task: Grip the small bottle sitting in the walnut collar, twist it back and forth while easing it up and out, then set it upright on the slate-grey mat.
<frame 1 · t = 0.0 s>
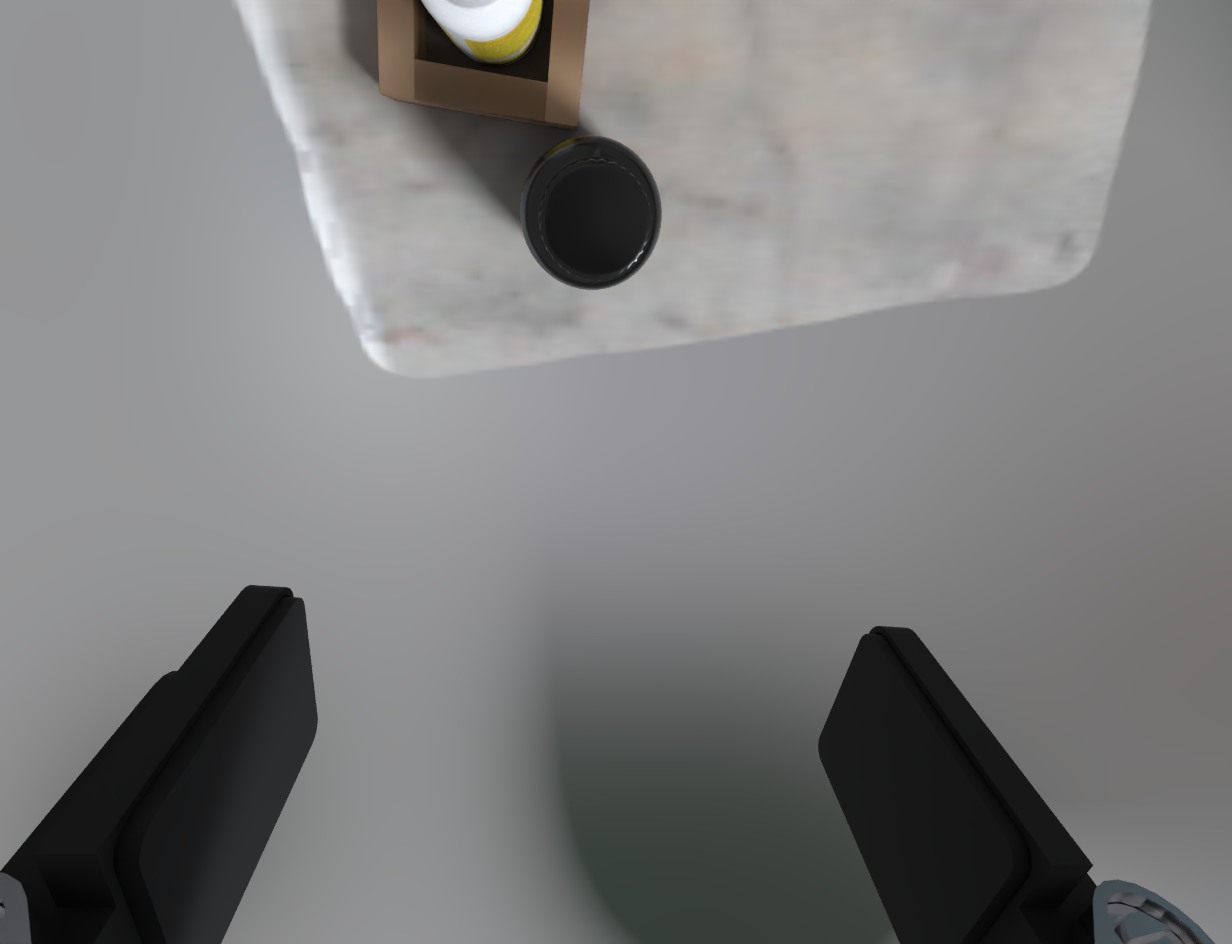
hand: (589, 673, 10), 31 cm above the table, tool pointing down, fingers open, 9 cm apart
supplement bottle: (586, 208, 35), on the table
walnut collar: (492, 5, 31), on the table
supplement bottle 2: (492, 6, 31), resting in walnut collar
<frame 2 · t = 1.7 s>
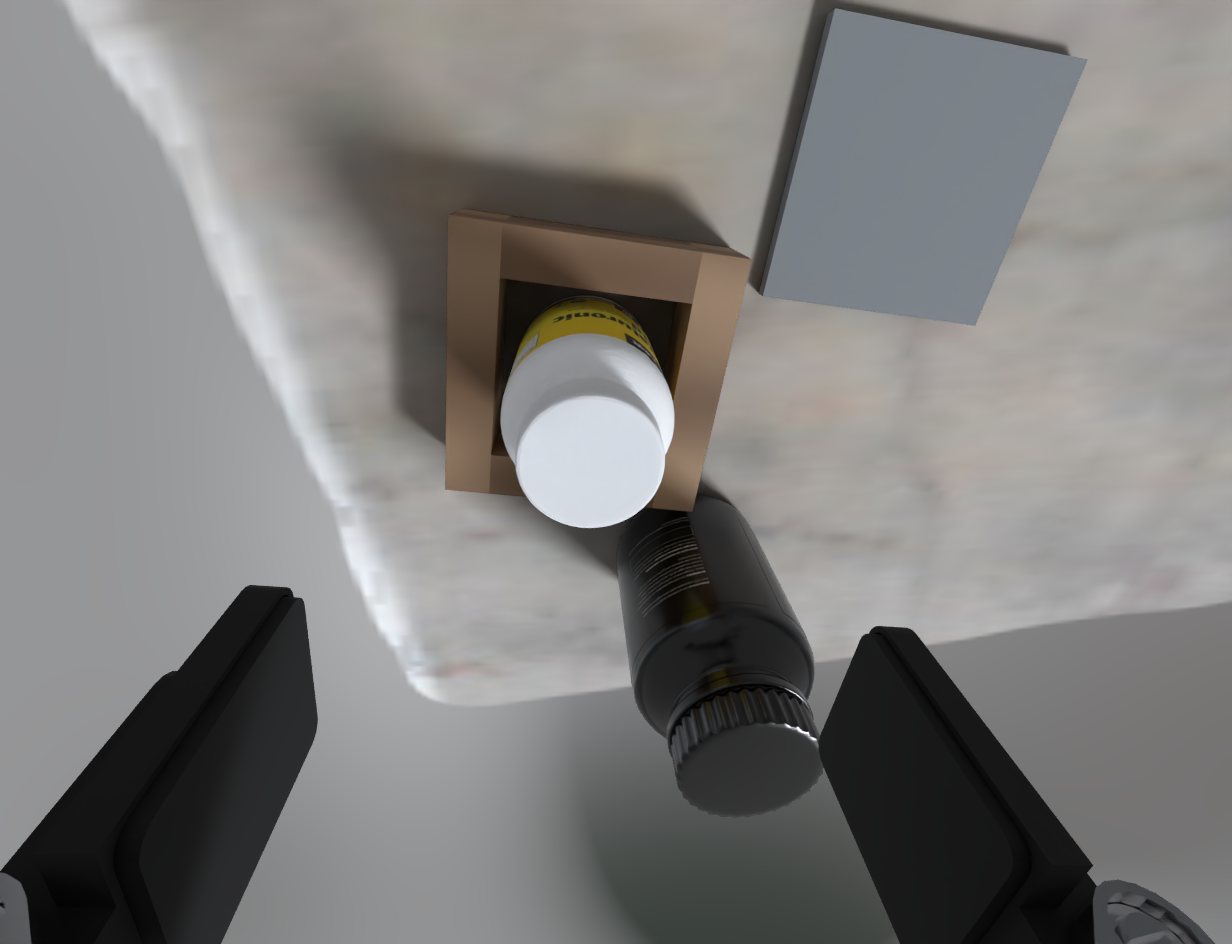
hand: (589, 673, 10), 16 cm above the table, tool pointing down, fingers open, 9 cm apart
supplement bottle: (684, 546, 29), on the table
walnut collar: (585, 359, 24), on the table
slate mat: (905, 185, 22), on the table
supplement bottle 2: (585, 357, 24), resting in walnut collar
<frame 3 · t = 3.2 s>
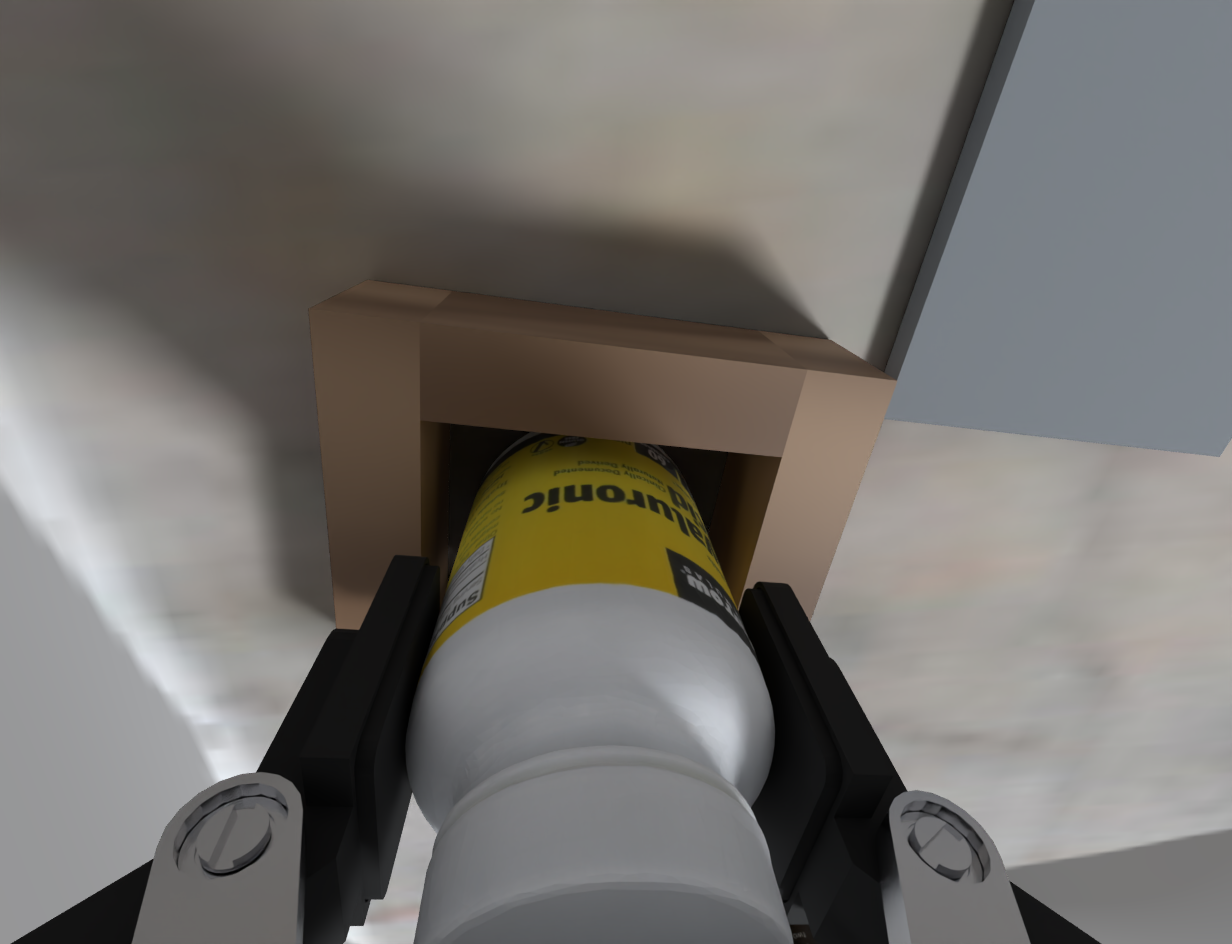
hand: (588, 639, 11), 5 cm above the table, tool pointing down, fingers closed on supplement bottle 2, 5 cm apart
supplement bottle: (731, 755, 19), on the table
walnut collar: (583, 512, 15), on the table
slate mat: (1135, 236, 13), on the table
supplement bottle 2: (583, 508, 15), resting in walnut collar, touching gripper
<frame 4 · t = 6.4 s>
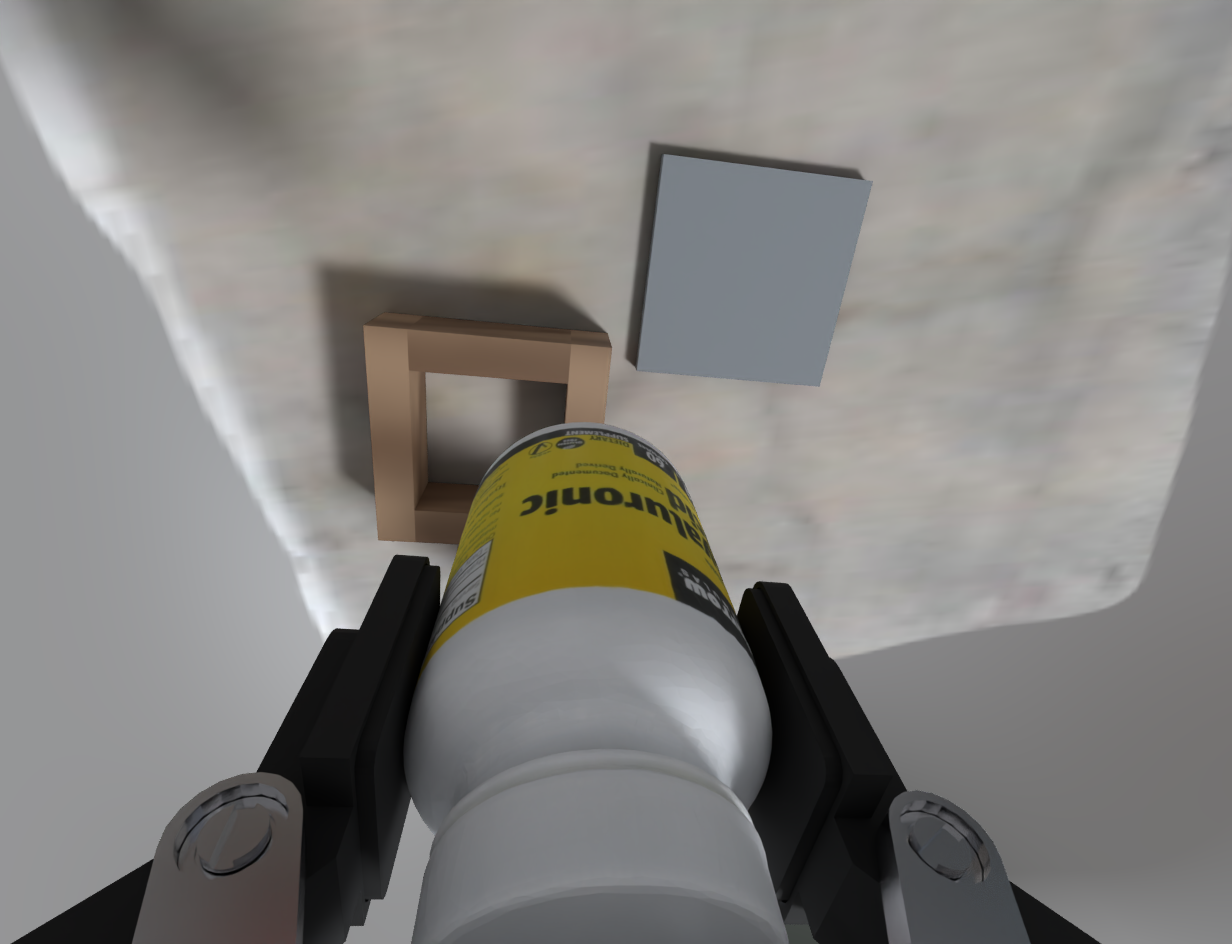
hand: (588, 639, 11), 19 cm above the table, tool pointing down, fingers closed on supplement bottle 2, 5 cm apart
walnut collar: (495, 425, 29), on the table
slate mat: (745, 279, 27), on the table
supplement bottle 2: (581, 510, 15), point 14 cm above the table, touching gripper
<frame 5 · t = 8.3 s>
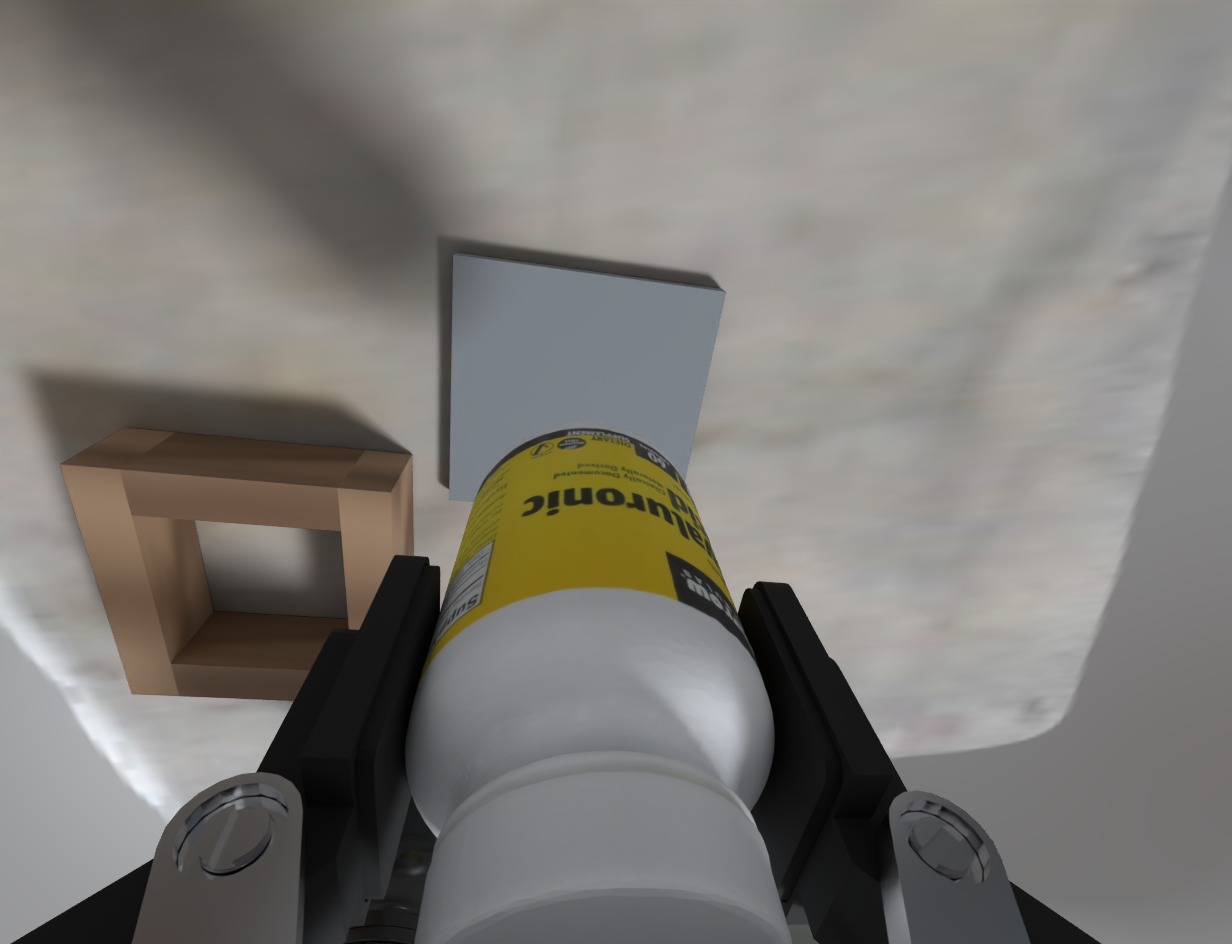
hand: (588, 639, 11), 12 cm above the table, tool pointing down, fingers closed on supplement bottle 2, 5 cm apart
supplement bottle: (438, 710, 29), on the table
walnut collar: (287, 553, 24), on the table
slate mat: (578, 397, 22), on the table
supplement bottle 2: (583, 510, 15), point 8 cm above the table, touching gripper
when the fingers open (7 cm above the table, at t = 9.7 s): supplement bottle 2 drops 2 cm, resting on slate mat.
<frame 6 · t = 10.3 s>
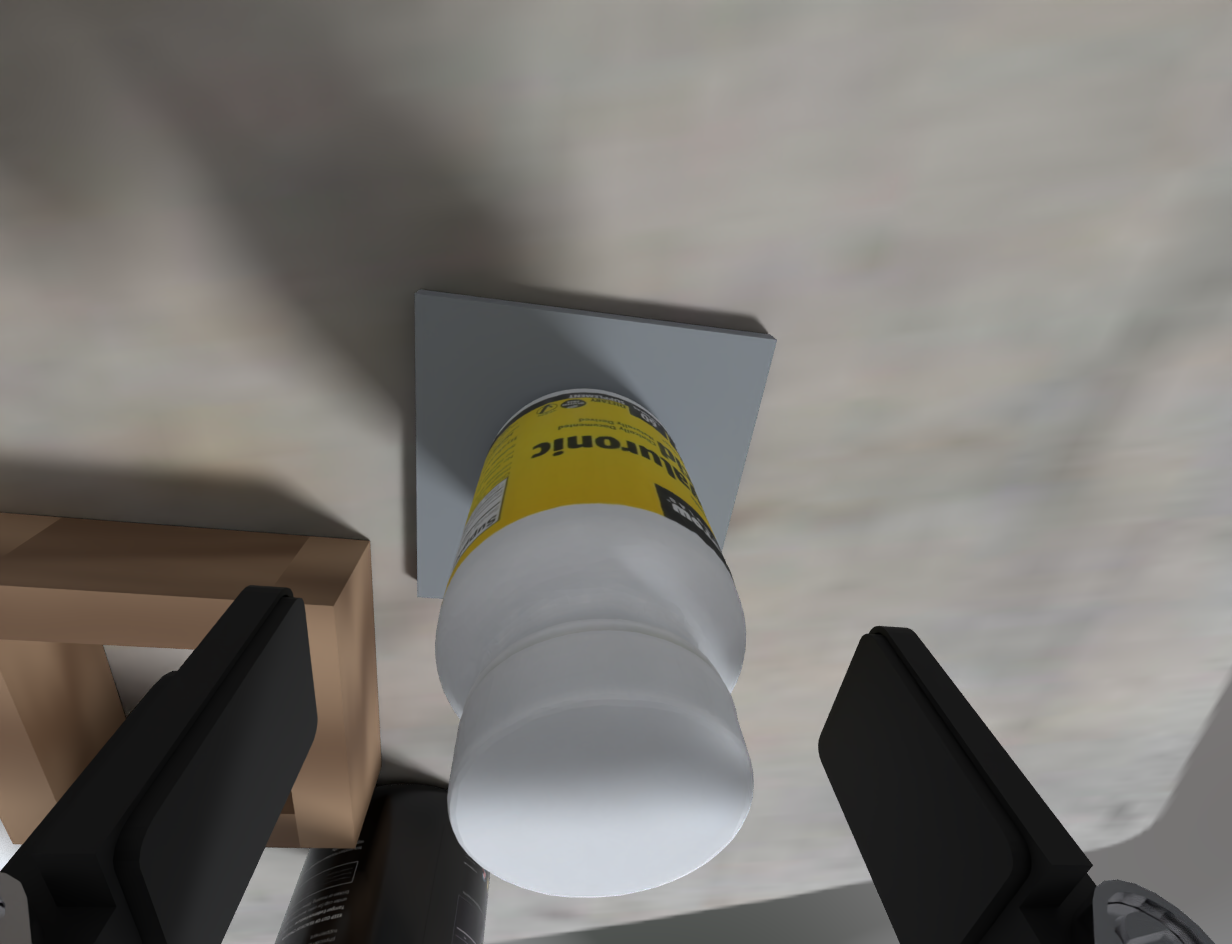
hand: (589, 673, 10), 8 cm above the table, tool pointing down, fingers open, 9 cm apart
supplement bottle: (412, 827, 24), on the table
walnut collar: (216, 657, 19), on the table
slate mat: (581, 469, 17), on the table
supplement bottle 2: (582, 471, 16), resting on slate mat
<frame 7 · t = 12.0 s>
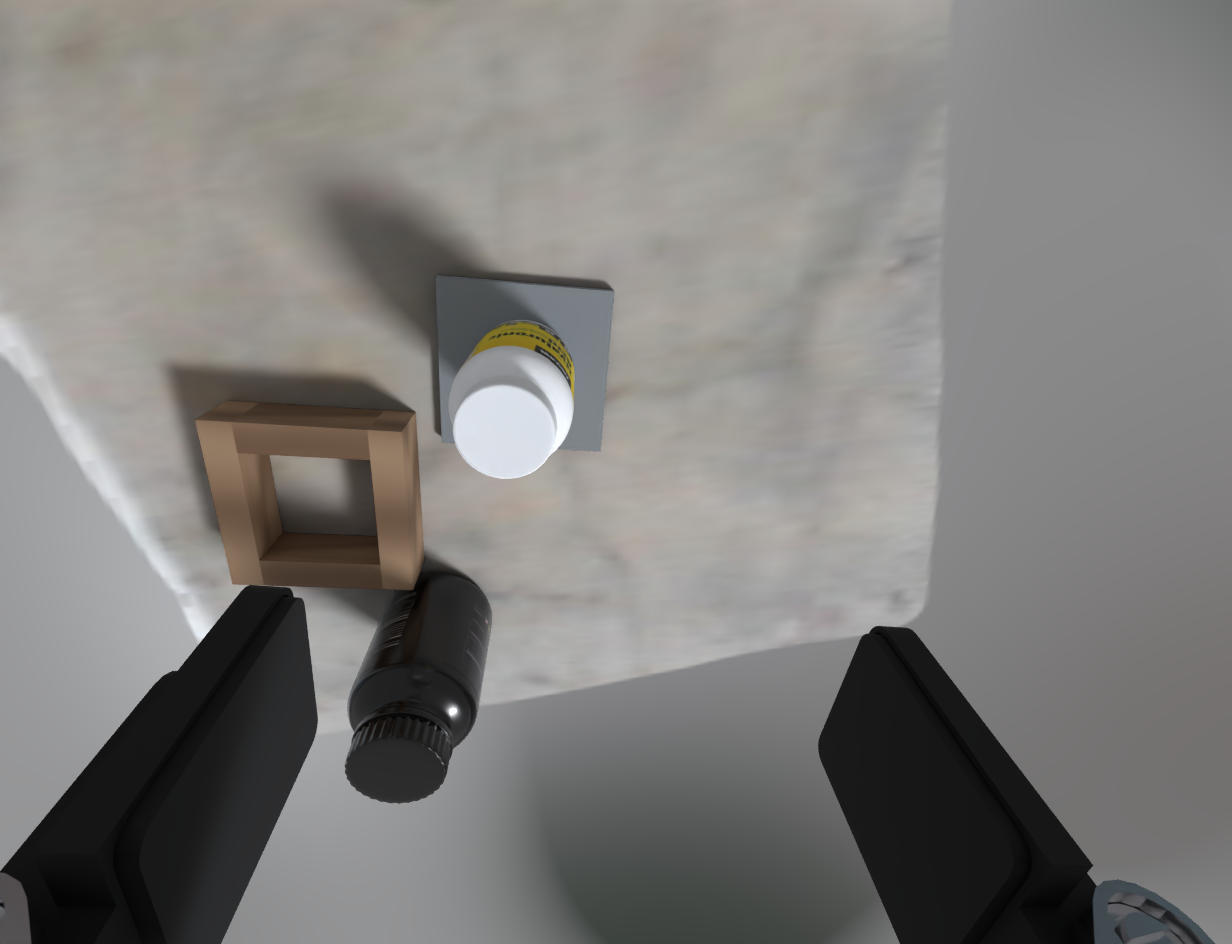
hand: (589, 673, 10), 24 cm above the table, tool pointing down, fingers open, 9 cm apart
supplement bottle: (443, 609, 39), on the table
walnut collar: (333, 486, 34), on the table
slate mat: (524, 367, 32), on the table
supplement bottle 2: (524, 366, 32), resting on slate mat
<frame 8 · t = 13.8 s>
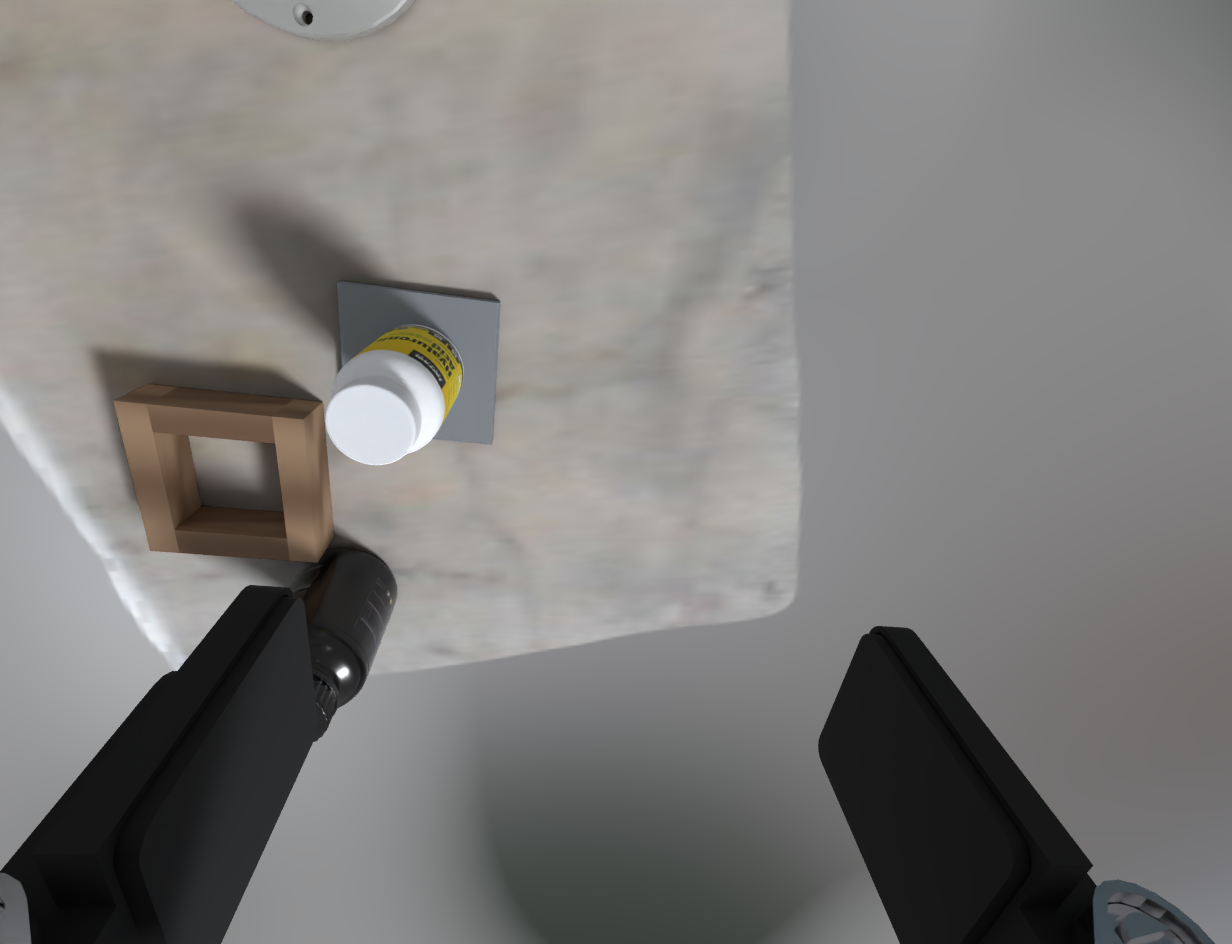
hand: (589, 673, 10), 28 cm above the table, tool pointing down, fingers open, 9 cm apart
supplement bottle: (353, 582, 43), on the table
walnut collar: (247, 466, 38), on the table
slate mat: (421, 366, 36), on the table
supplement bottle 2: (420, 365, 35), resting on slate mat
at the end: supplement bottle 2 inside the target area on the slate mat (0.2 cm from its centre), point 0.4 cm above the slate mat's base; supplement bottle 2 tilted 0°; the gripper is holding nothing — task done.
